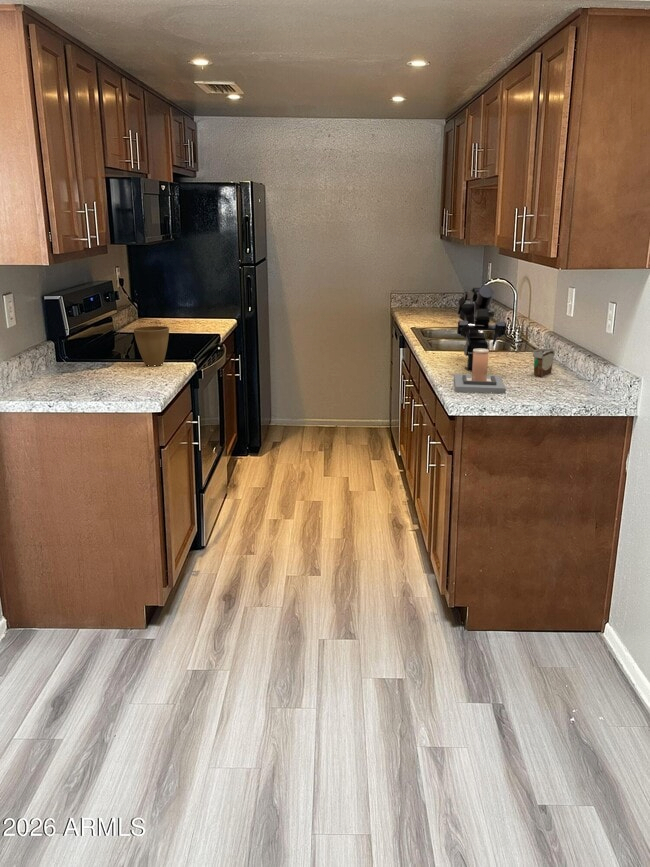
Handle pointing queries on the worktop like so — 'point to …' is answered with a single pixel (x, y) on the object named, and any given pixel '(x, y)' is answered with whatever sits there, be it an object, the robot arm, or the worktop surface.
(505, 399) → the worktop surface
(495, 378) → the dock
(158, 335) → the plant pot
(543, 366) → the food container
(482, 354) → the terracotta canister
